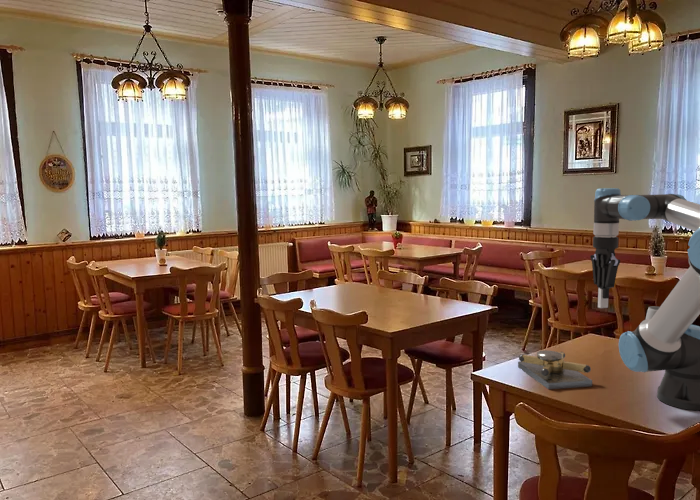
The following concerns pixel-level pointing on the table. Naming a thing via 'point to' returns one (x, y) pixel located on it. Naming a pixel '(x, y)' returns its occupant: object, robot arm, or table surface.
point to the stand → (556, 377)
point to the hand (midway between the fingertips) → (602, 307)
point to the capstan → (553, 362)
